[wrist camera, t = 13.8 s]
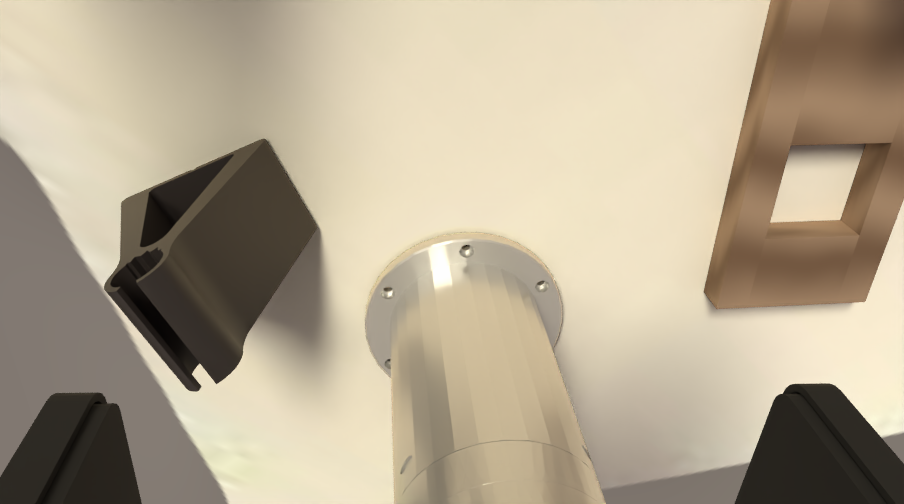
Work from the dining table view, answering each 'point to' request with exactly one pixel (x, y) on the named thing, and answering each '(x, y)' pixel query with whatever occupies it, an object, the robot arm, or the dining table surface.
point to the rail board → (815, 123)
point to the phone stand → (208, 258)
